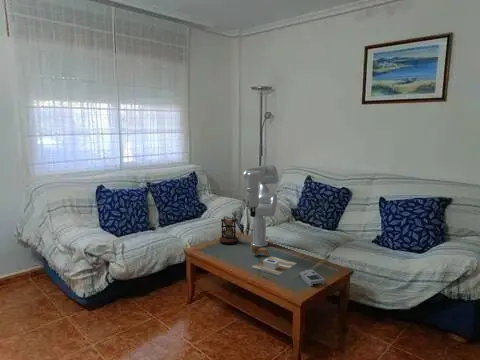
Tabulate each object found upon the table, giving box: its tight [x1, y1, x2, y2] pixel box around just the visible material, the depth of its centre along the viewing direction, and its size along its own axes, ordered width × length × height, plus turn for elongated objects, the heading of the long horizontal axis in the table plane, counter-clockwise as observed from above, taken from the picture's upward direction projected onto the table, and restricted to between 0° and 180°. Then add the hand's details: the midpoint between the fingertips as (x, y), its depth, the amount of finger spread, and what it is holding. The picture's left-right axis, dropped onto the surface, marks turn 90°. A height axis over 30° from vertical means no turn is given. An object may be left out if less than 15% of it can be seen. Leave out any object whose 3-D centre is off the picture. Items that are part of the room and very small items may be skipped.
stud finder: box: [263, 258, 279, 270], centre depth 213 cm, size 5×8×4 cm, turn 55°
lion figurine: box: [249, 244, 271, 258], centre depth 233 cm, size 15×5×9 cm, turn 87°
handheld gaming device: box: [299, 269, 326, 287], centre depth 198 cm, size 9×15×4 cm, turn 16°
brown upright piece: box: [218, 216, 239, 245], centre depth 264 cm, size 15×15×20 cm
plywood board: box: [251, 255, 297, 278], centre depth 217 cm, size 22×20×2 cm
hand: (252, 216), depth 236 cm, fingers closed
